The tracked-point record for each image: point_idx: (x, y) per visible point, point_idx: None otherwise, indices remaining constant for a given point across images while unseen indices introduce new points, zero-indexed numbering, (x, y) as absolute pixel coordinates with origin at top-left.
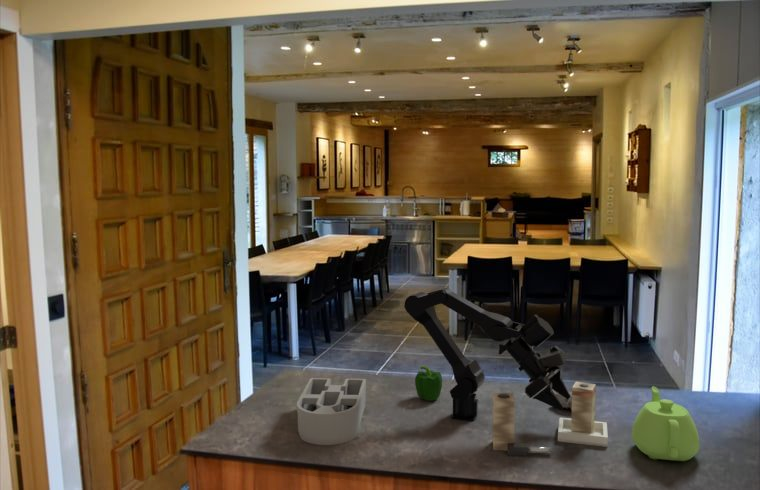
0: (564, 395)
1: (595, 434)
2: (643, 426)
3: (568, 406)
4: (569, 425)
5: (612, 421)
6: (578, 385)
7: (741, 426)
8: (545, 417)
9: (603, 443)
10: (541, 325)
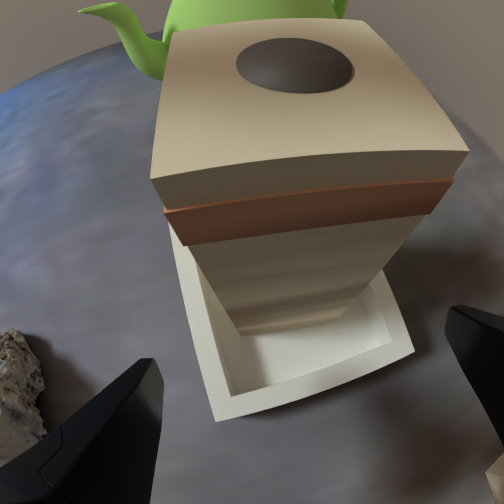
0: (157, 410)
1: None
2: None
3: (36, 408)
4: (226, 366)
5: (77, 237)
6: (335, 101)
7: (66, 67)
8: (154, 493)
9: None
10: None
